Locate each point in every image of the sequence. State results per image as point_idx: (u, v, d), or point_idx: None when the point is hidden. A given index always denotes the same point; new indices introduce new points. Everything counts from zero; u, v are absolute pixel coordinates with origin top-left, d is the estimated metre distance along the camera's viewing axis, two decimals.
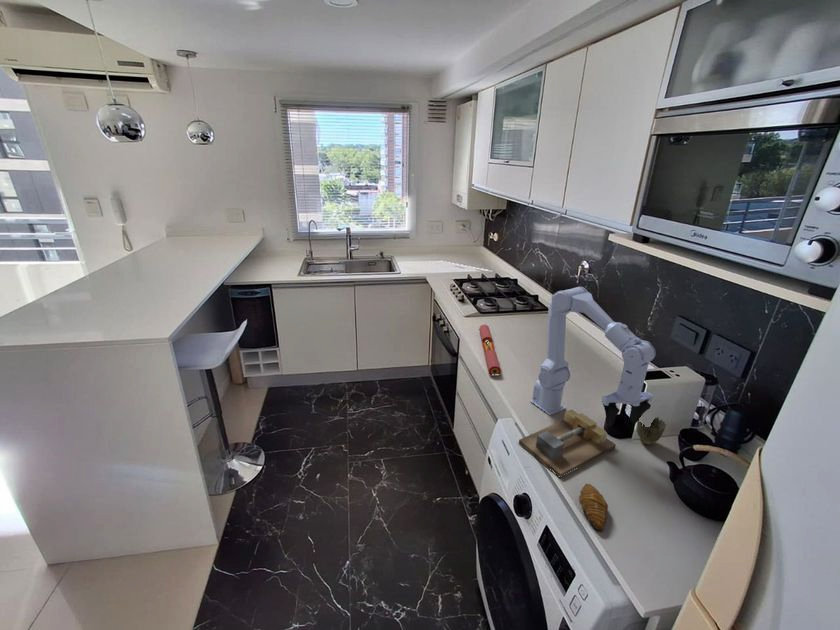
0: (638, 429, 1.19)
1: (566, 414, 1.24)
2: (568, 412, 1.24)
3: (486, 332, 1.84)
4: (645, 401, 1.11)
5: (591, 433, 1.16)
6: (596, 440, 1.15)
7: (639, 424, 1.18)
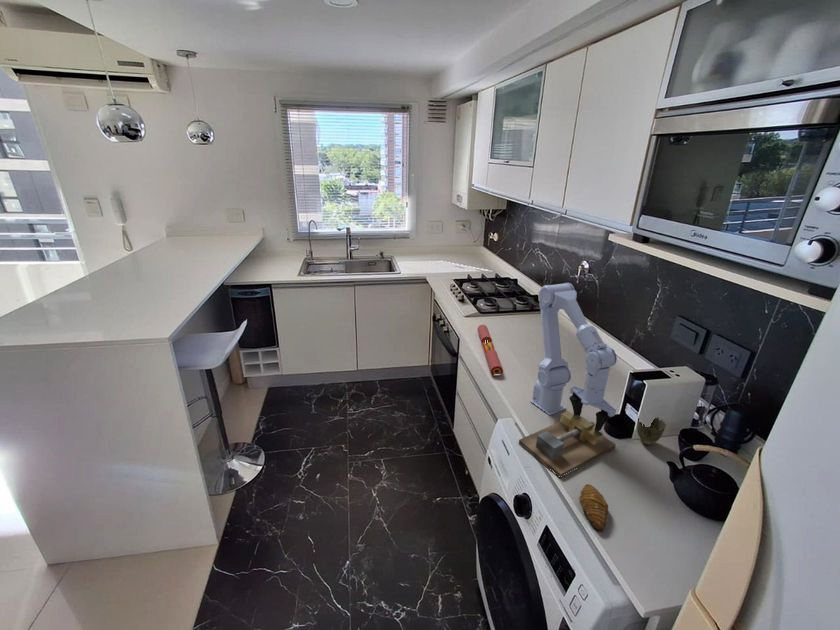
0: (638, 429, 1.19)
1: (562, 416, 1.23)
2: (564, 414, 1.23)
3: (485, 332, 1.84)
4: (605, 413, 1.13)
5: (587, 435, 1.16)
6: (592, 442, 1.14)
7: (639, 424, 1.18)
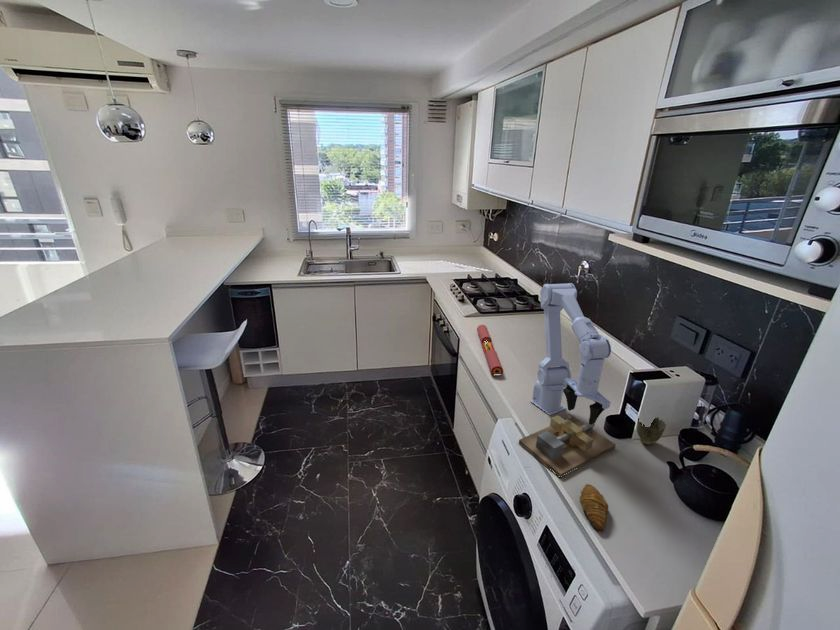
0: (638, 429, 1.19)
1: (552, 420, 1.21)
2: (554, 418, 1.21)
3: (485, 332, 1.84)
4: (599, 405, 1.10)
5: (577, 440, 1.13)
6: (582, 447, 1.12)
7: (639, 424, 1.18)
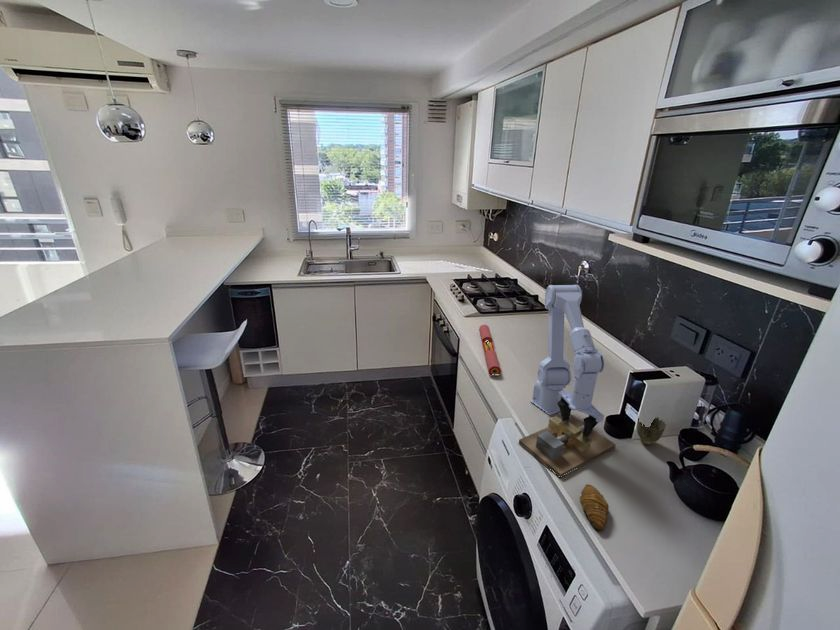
0: (638, 429, 1.19)
1: (550, 421, 1.20)
2: (552, 419, 1.21)
3: (486, 332, 1.84)
4: (593, 419, 1.10)
5: (575, 441, 1.13)
6: (580, 448, 1.12)
7: (639, 424, 1.18)
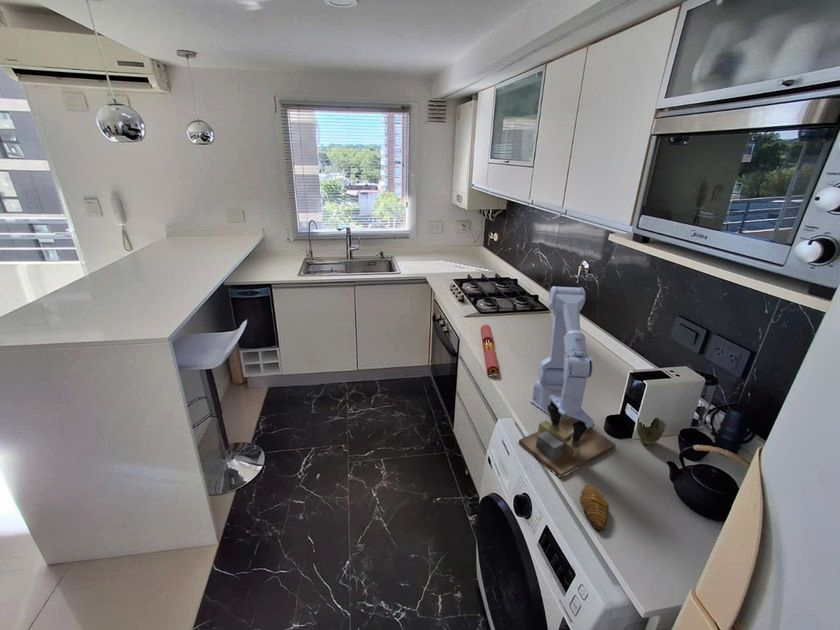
0: (638, 429, 1.19)
1: (540, 425, 1.18)
2: (542, 423, 1.19)
3: (487, 332, 1.84)
4: (582, 423, 1.08)
5: (565, 446, 1.11)
6: (570, 453, 1.10)
7: (639, 424, 1.18)
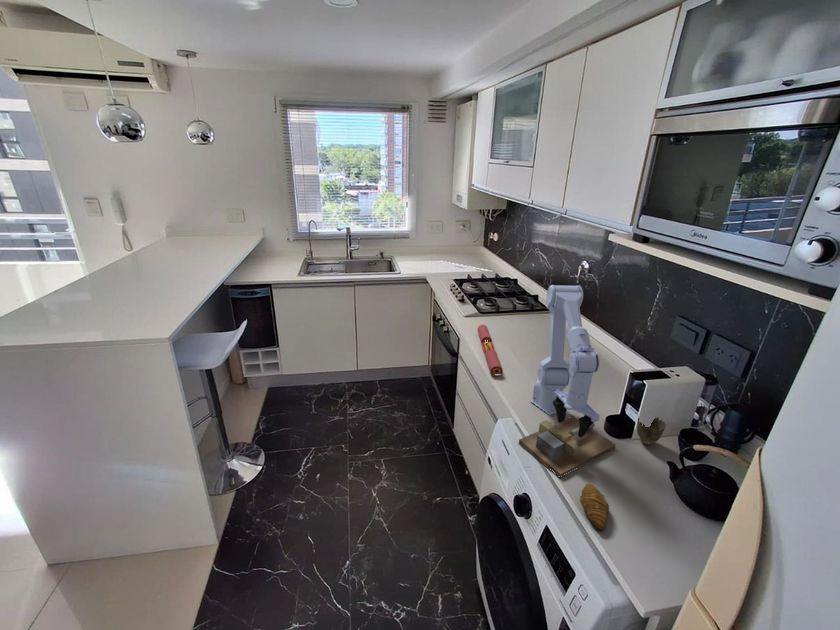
0: (638, 429, 1.19)
1: (541, 425, 1.18)
2: (543, 423, 1.19)
3: (485, 332, 1.84)
4: (588, 418, 1.09)
5: (565, 446, 1.11)
6: (570, 453, 1.10)
7: (639, 424, 1.18)
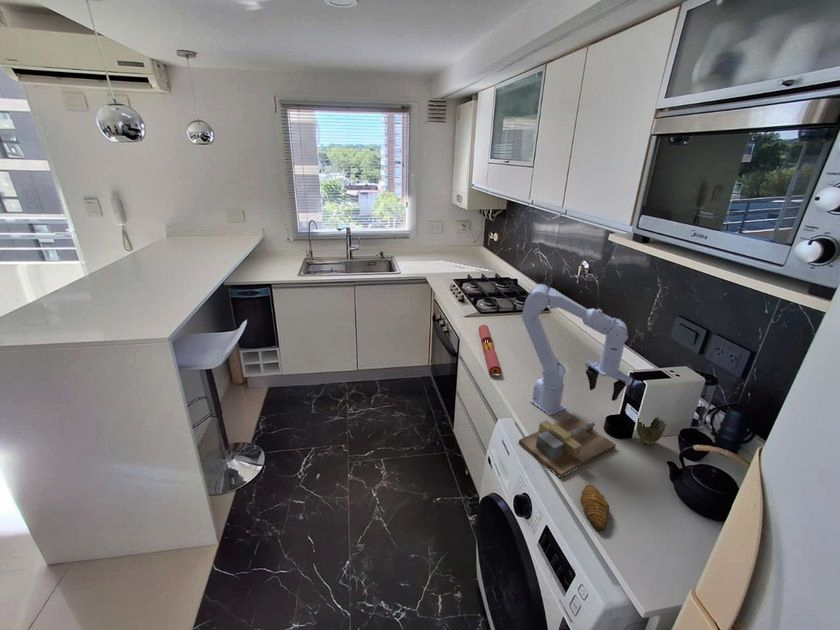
0: (638, 429, 1.19)
1: (541, 425, 1.18)
2: (543, 423, 1.19)
3: (486, 332, 1.84)
4: (622, 382, 1.21)
5: (565, 446, 1.11)
6: (570, 453, 1.10)
7: (639, 424, 1.18)
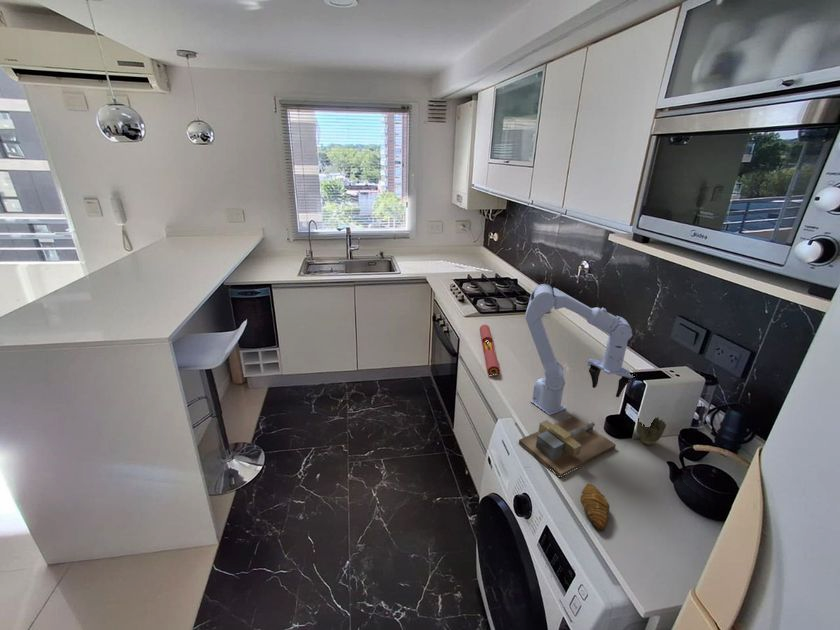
0: (638, 429, 1.19)
1: (541, 425, 1.18)
2: (543, 423, 1.19)
3: (486, 332, 1.84)
4: (627, 379, 1.23)
5: (565, 446, 1.11)
6: (570, 453, 1.10)
7: (639, 424, 1.18)
